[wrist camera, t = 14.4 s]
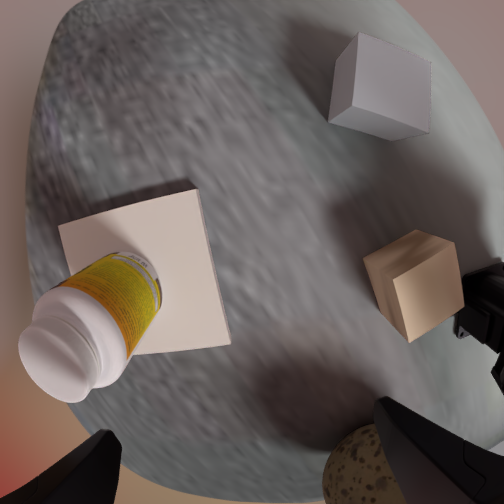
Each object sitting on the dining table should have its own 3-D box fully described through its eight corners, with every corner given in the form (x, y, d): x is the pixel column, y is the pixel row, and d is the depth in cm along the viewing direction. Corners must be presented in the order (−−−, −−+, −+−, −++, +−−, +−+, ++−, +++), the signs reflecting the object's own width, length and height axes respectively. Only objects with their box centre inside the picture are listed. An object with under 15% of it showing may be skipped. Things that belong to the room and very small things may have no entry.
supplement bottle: (114, 233, 18) (15, 281, 8) (179, 280, 19) (124, 369, 9) (84, 294, 19) (1, 364, 9) (143, 336, 20) (88, 433, 10)
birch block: (415, 229, 20) (454, 242, 15) (429, 283, 21) (464, 306, 16) (362, 257, 20) (392, 279, 15) (380, 312, 21) (409, 343, 16)
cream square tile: (198, 188, 19) (195, 189, 18) (231, 337, 21) (230, 344, 20) (64, 223, 19) (57, 225, 18) (106, 350, 22) (101, 356, 21)
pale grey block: (396, 82, 17) (431, 62, 12) (391, 141, 18) (428, 133, 13) (335, 61, 17) (358, 31, 12) (327, 122, 18) (351, 105, 13)
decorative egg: (423, 411, 25) (483, 506, 10) (359, 468, 27) (391, 562, 12) (363, 386, 23) (428, 520, 8) (291, 453, 25) (310, 574, 10)
